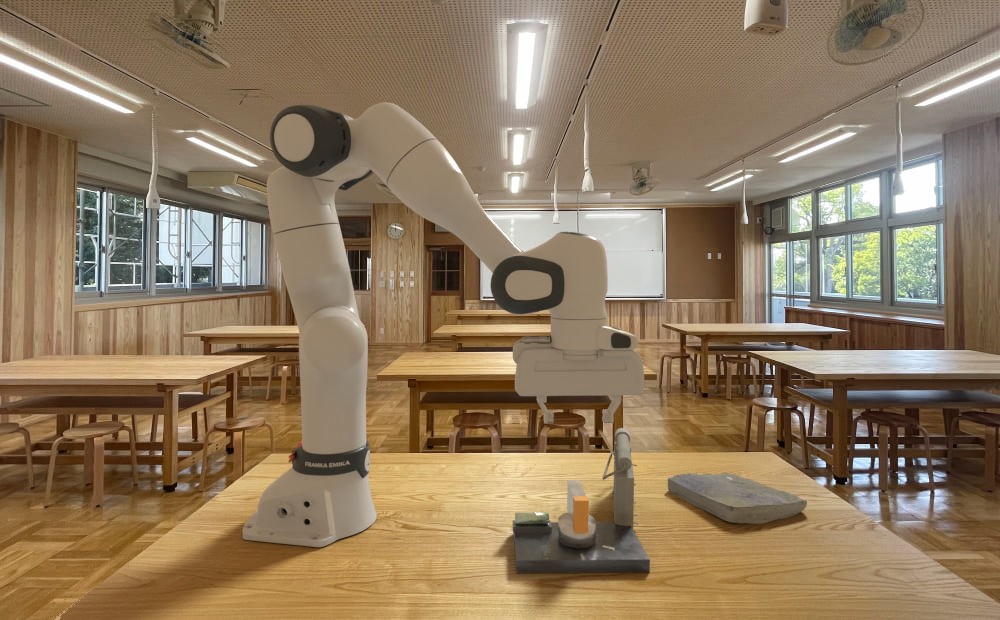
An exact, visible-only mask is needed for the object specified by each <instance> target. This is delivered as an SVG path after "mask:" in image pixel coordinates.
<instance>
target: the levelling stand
mask: <svg viewBox="0 0 1000 620" xmlns="http://www.w3.org/2000/svg"><path fill="white" fill-rule="evenodd" d="M512 533H513V545H514V546H513V547H514V556H515V568H516V569H515V570H516V571H515V572H516V574H577V573H578V574H594V573H595V574H597V573H598V574H599V573H601V574H604V573H606V574H608V573H613V574H614V573H616V574H617V573H618V574H619V573H621V574H622V573H629V574H630V573H631V574H632V573H651V571H650V569H651V568H650V565H651V558H650V557H649V555H648V553H647V552H646V550H645V548H644V546H643V545H642V543H641V542H640V539H639V537H638V536H637V533H635V530H634V528H633V529H632V527H631V526H623V525H618V524H615V522H614V521H596V542H595V543H594V544H593V545H592V546H590V547H586V548H573V547H569V546H566V545H564V544H562V543H561V542H560V541H559V539H558V521H556V522H555V521H554V522H553V521H551V520H550V513H549V512H536V511H532V512H515V513H514V520H512Z"/></svg>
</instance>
